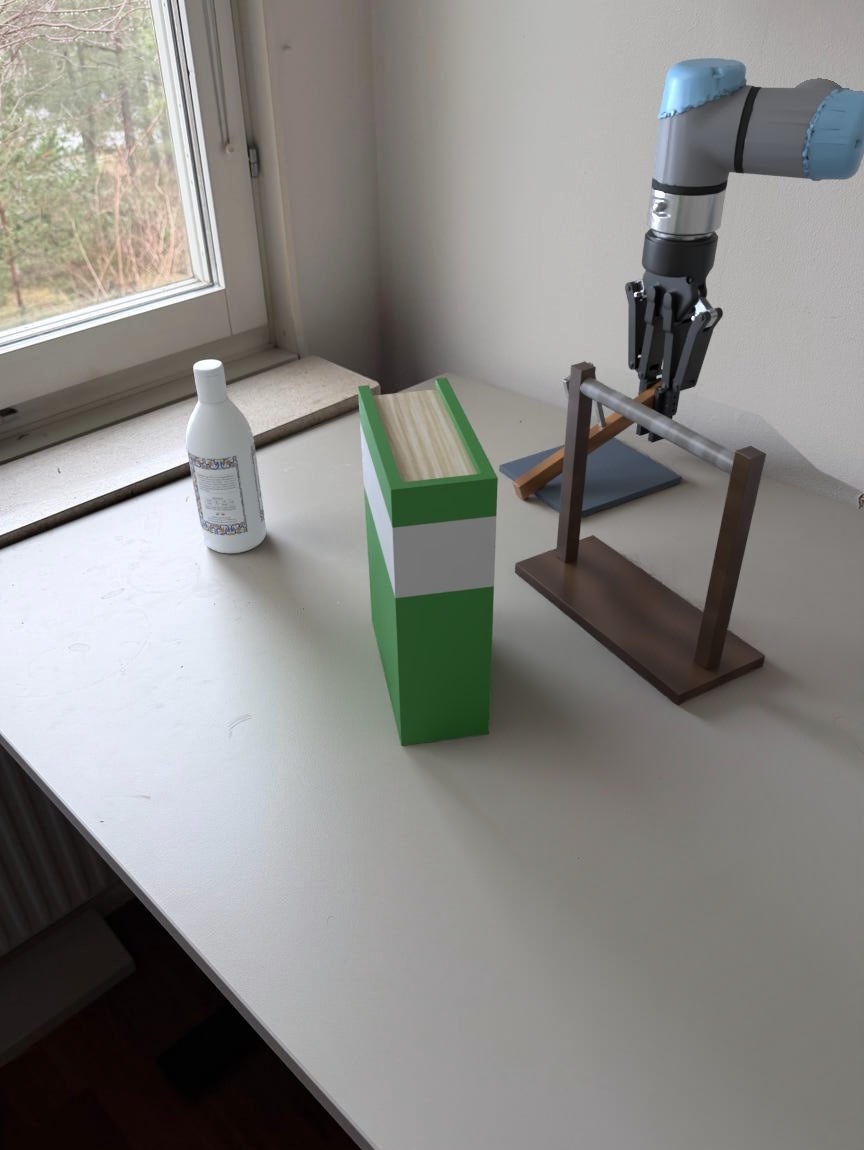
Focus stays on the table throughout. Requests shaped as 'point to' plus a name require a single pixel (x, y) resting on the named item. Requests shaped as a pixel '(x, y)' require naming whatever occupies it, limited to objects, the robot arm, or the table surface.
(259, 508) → the bath foam
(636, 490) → the mat
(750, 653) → the rail stand
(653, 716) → the table surface
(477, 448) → the hardback book
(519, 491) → the hanger
